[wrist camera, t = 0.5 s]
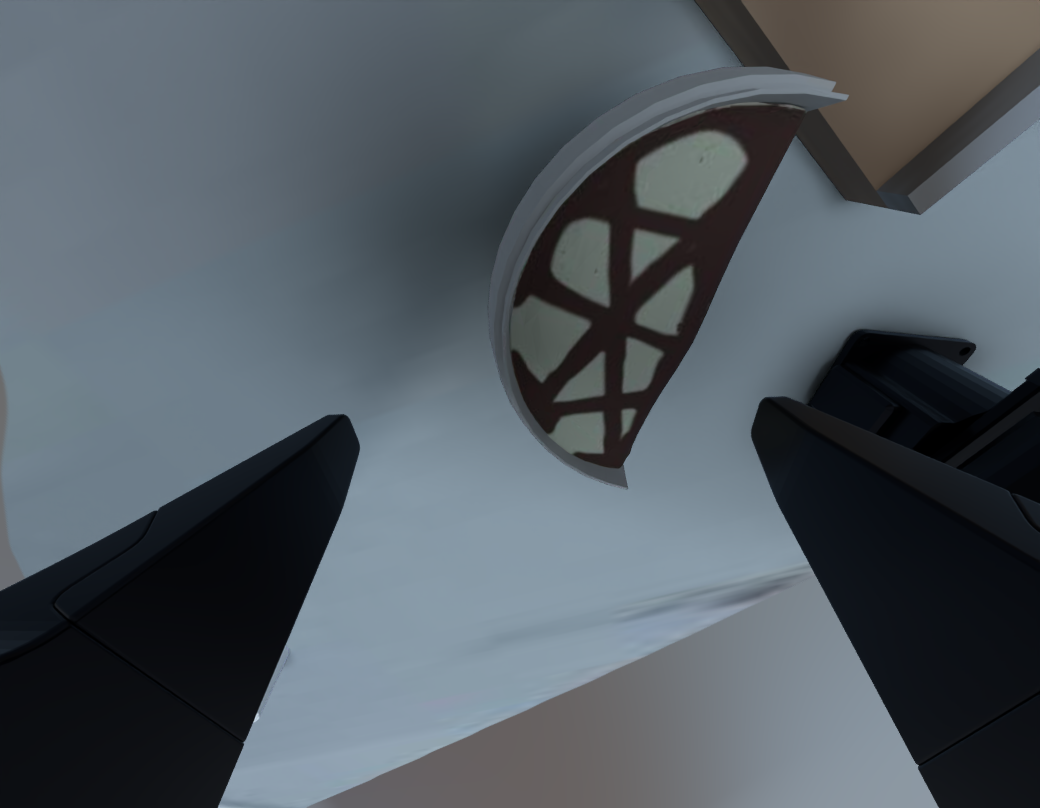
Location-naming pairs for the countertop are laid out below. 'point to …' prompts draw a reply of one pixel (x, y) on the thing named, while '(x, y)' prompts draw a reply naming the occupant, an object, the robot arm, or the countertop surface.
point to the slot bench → (899, 85)
